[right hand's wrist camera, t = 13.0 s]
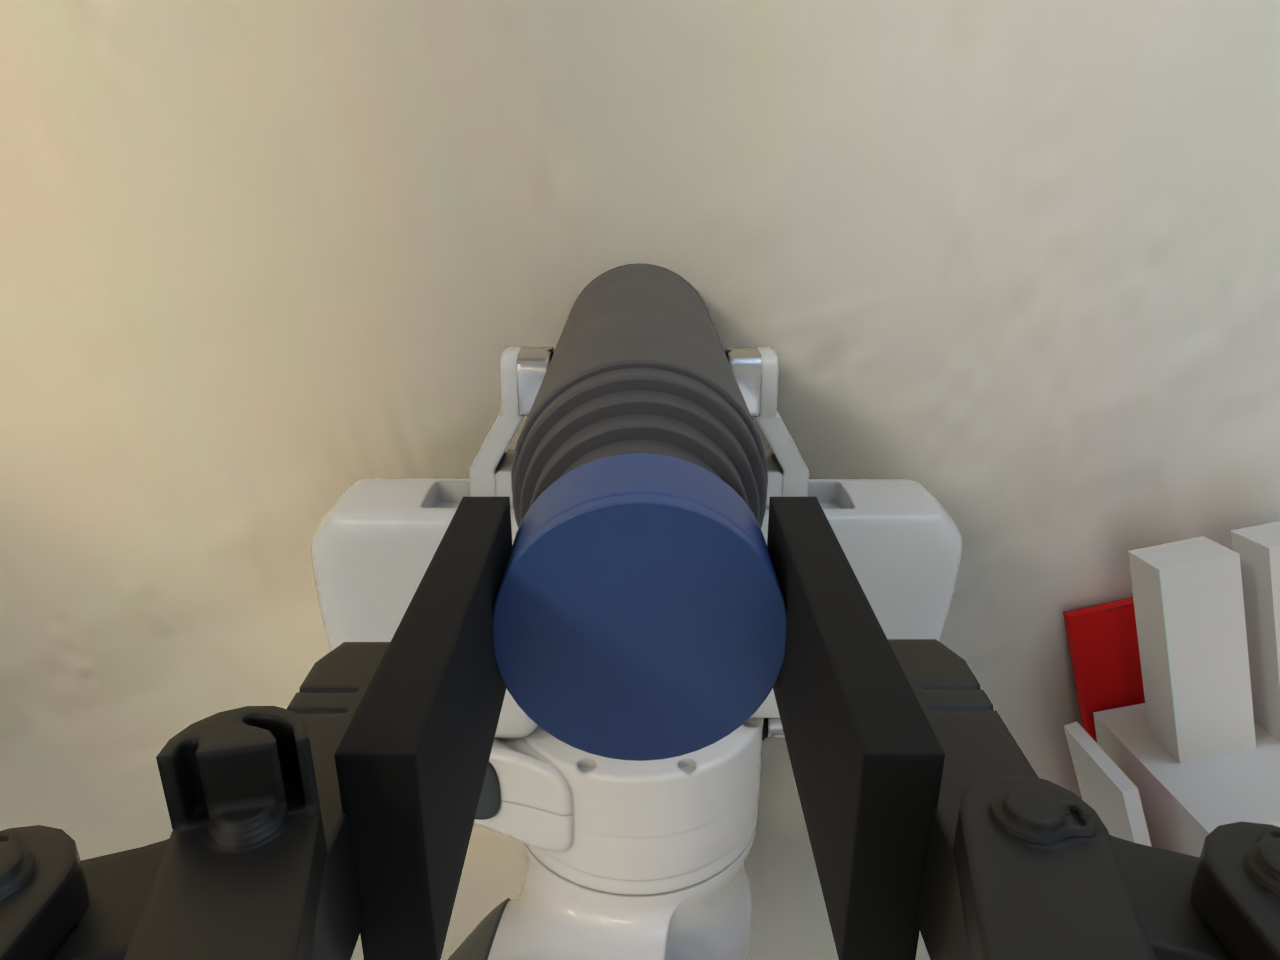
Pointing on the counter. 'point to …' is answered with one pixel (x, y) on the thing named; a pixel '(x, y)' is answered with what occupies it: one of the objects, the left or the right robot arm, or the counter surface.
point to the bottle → (639, 390)
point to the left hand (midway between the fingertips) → (637, 350)
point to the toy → (1182, 692)
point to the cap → (639, 609)
